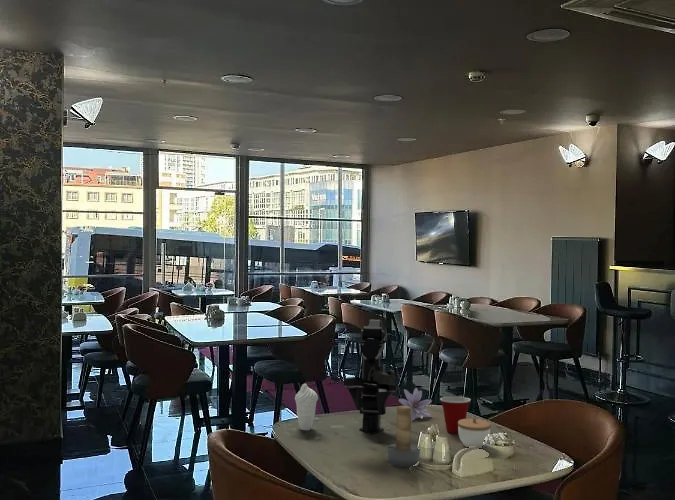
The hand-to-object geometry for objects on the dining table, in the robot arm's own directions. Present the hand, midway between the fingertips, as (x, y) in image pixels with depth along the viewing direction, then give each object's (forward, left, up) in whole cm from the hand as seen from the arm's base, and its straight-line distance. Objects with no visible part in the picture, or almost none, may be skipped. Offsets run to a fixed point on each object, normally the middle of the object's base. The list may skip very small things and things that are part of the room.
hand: (369, 411), depth 210 cm
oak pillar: (+4, +16, -8) cm, 18 cm away
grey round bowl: (+4, +16, -12) cm, 20 cm away
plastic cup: (-35, +12, -12) cm, 39 cm away
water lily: (-40, -8, -12) cm, 43 cm away
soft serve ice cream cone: (0, -28, -12) cm, 30 cm away
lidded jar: (-25, +25, -12) cm, 37 cm away
